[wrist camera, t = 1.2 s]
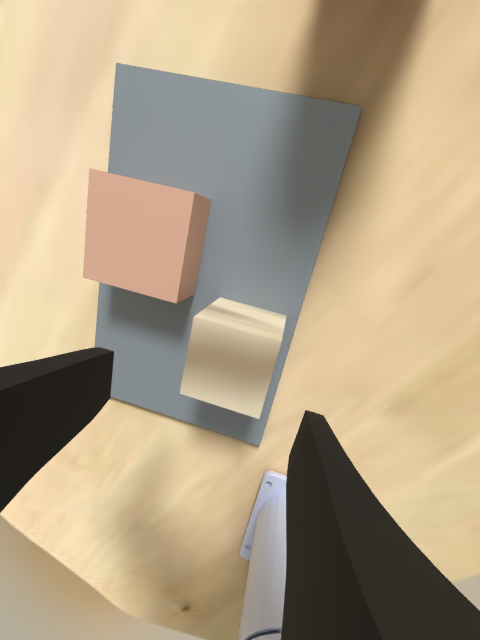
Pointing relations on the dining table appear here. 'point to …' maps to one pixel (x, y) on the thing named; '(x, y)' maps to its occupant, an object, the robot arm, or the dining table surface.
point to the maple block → (232, 355)
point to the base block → (144, 236)
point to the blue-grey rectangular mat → (221, 220)
